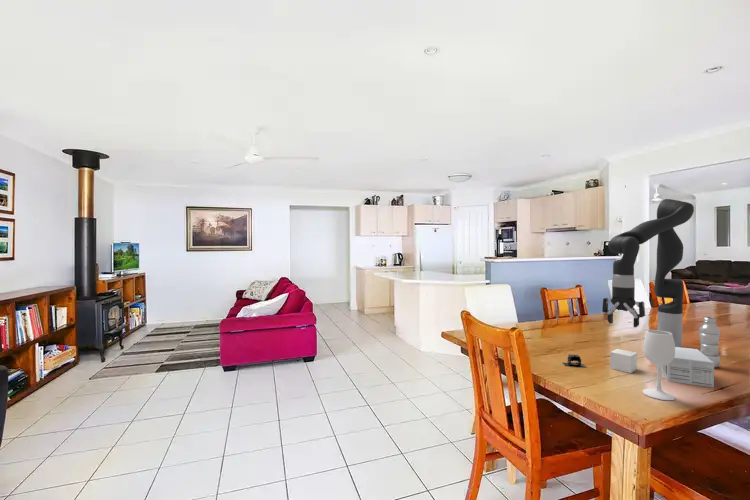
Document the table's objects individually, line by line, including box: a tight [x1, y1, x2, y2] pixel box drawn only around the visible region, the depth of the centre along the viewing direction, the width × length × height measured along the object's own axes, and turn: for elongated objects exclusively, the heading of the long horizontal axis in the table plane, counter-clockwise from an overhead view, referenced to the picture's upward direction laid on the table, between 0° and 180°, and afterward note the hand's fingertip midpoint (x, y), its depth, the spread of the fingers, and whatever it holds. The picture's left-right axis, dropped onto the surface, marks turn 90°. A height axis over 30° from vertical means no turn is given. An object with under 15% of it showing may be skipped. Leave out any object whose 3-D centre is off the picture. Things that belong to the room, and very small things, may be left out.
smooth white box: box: [609, 348, 638, 374], centre depth 144 cm, size 7×7×7 cm
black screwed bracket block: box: [562, 353, 588, 368], centre depth 149 cm, size 12×7×5 cm, turn 78°
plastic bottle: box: [698, 316, 721, 368], centre depth 146 cm, size 6×7×20 cm
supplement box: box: [661, 347, 715, 388], centre depth 136 cm, size 17×13×9 cm
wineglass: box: [641, 329, 677, 401], centre depth 119 cm, size 9×9×21 cm
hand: (622, 325), depth 146 cm, fingers open, 8 cm apart
